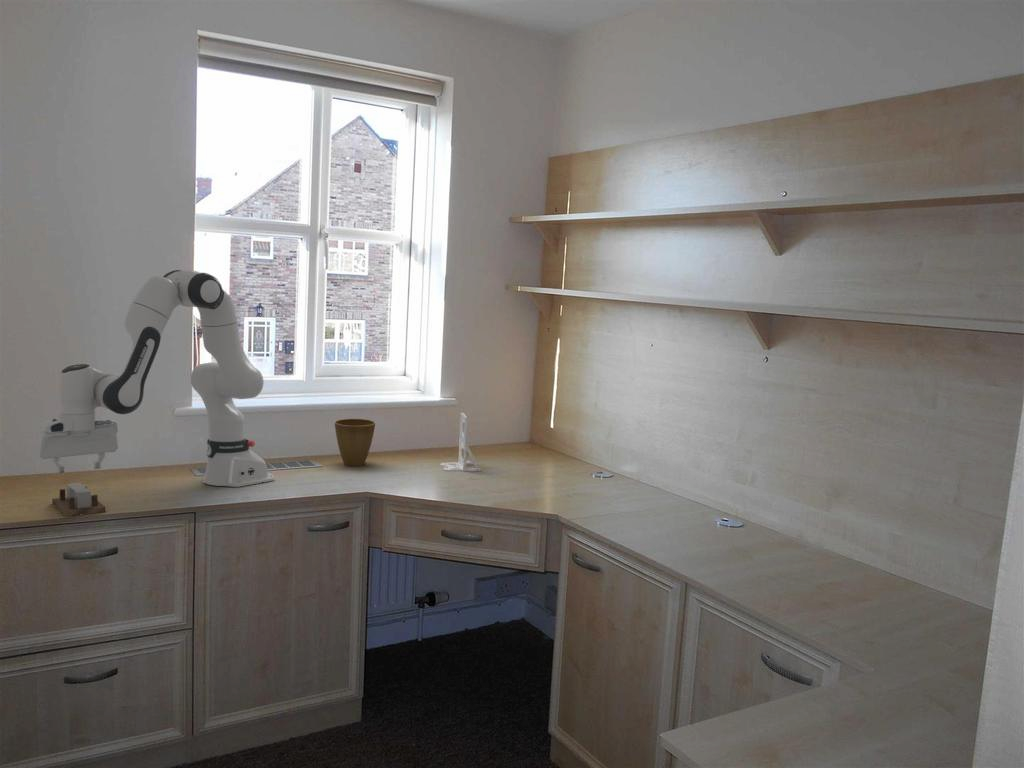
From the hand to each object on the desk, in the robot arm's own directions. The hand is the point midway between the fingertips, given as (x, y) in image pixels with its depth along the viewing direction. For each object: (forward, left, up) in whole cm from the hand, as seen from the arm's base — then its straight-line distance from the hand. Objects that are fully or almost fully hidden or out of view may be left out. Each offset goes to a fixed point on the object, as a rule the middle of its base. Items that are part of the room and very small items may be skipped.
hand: (79, 470), depth 237 cm
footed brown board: (0, 0, -11) cm, 11 cm away
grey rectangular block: (0, 0, -9) cm, 9 cm away
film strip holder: (-129, +8, -11) cm, 129 cm away
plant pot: (-97, -15, -11) cm, 98 cm away
